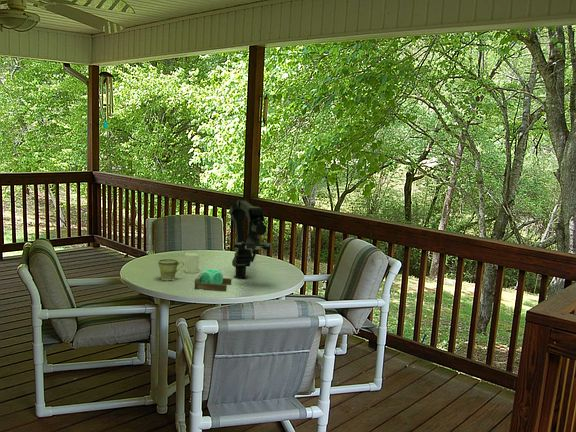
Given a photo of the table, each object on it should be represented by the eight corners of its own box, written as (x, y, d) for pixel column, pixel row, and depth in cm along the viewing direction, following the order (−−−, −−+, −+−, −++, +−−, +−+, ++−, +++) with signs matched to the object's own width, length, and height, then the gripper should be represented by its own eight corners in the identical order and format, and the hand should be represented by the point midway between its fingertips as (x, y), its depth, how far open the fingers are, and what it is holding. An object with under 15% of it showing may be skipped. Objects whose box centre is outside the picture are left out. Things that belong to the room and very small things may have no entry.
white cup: (181, 271, 306) (182, 253, 304) (193, 269, 311) (193, 252, 310) (189, 274, 300) (190, 256, 299) (201, 272, 306) (202, 254, 304)
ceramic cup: (158, 282, 281) (158, 262, 280) (157, 277, 290) (157, 258, 289) (184, 281, 284) (184, 262, 283) (182, 276, 294) (183, 258, 293)
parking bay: (201, 282, 285) (201, 272, 284) (231, 284, 284) (231, 274, 283) (194, 289, 271) (194, 279, 271) (225, 291, 270) (226, 281, 269)
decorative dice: (212, 283, 283) (212, 268, 282) (223, 287, 278) (223, 271, 277) (200, 286, 277) (200, 270, 276) (211, 289, 272) (211, 273, 271)
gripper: (232, 233, 274) (231, 264, 276) (269, 235, 273) (268, 266, 275) (236, 229, 285) (235, 259, 287) (272, 232, 284) (270, 262, 286)
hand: (252, 261), depth 283 cm, fingers closed
